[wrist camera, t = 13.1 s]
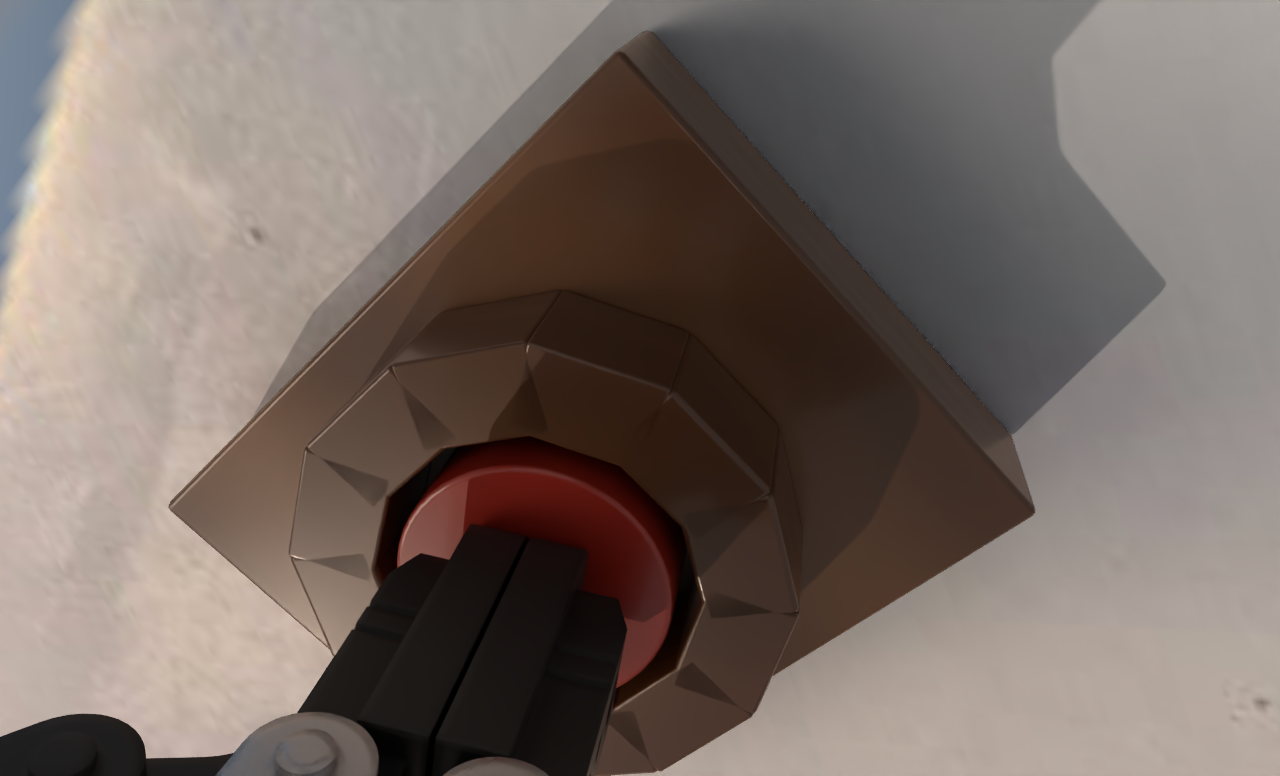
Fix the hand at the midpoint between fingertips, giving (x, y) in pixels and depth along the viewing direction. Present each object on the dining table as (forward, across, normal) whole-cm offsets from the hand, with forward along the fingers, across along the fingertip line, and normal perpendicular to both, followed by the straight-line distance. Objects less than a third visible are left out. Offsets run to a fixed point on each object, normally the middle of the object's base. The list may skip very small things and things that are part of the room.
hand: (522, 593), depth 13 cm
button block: (+4, 0, 0) cm, 4 cm away
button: (+2, 0, 0) cm, 2 cm away
